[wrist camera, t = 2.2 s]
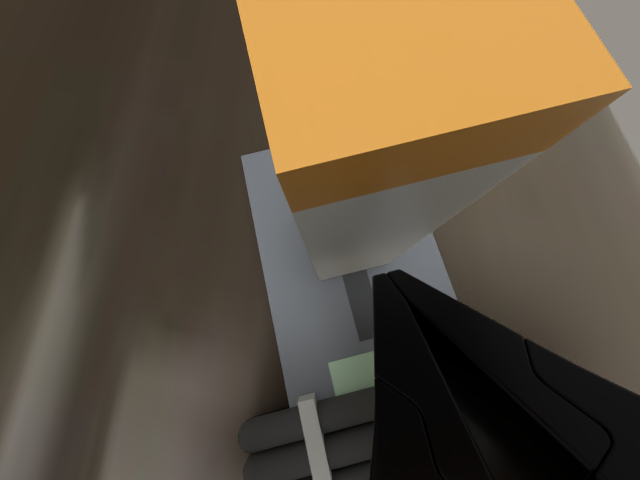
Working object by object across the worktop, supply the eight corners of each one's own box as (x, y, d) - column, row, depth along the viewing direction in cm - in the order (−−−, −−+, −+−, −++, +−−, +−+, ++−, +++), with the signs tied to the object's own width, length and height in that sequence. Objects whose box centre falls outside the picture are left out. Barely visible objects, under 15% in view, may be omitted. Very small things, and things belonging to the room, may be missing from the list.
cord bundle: (517, 335, 14) (538, 339, 13) (562, 443, 13) (591, 461, 11) (240, 408, 14) (229, 420, 12) (257, 527, 13) (248, 556, 11)
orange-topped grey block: (388, 263, 15) (631, 87, 3) (319, 280, 15) (275, 174, 3) (368, 199, 16) (487, -130, 4) (303, 215, 16) (219, -72, 4)
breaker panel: (474, 359, 14) (481, 362, 13) (292, 407, 14) (290, 413, 13) (388, 126, 18) (390, 119, 17) (244, 161, 17) (240, 155, 17)
